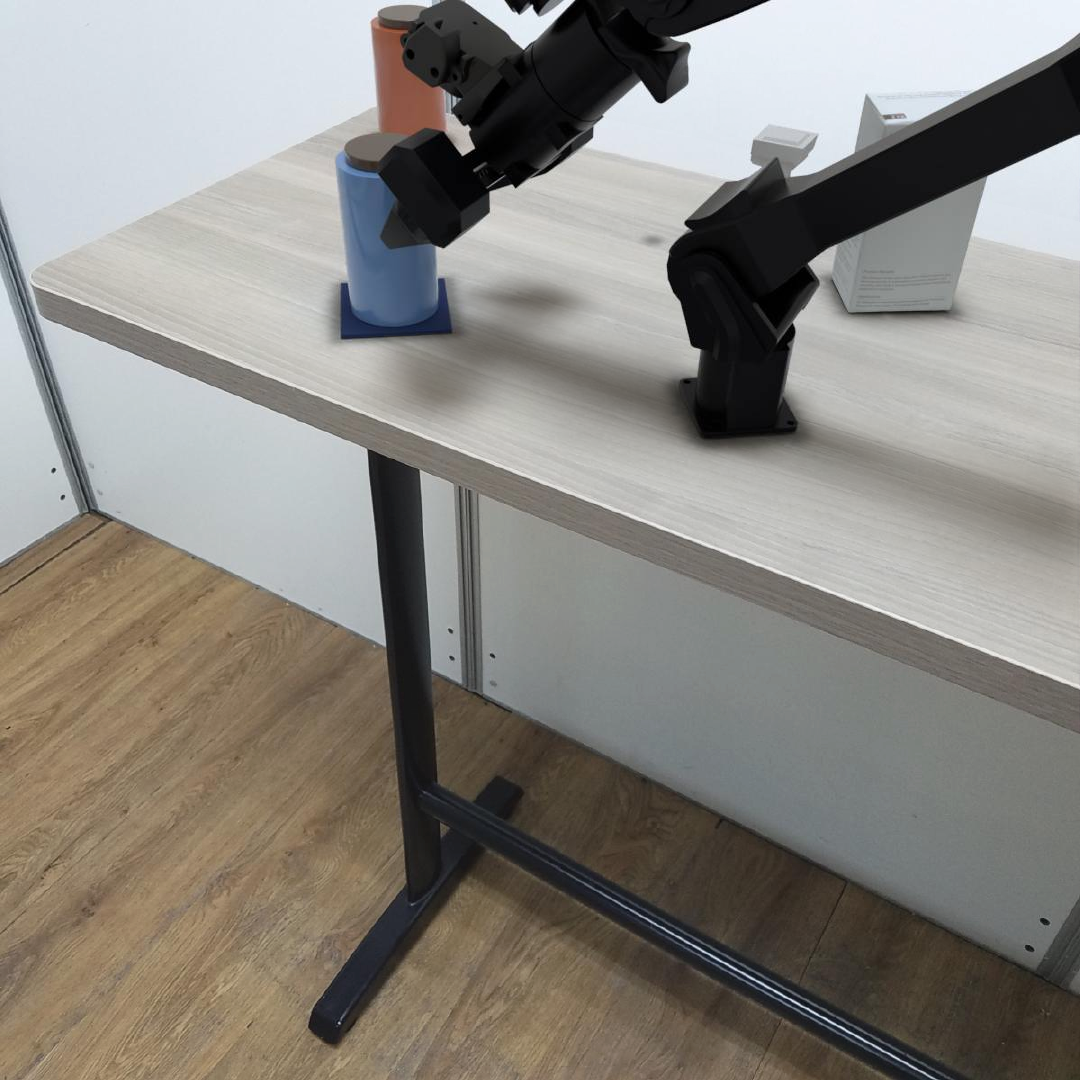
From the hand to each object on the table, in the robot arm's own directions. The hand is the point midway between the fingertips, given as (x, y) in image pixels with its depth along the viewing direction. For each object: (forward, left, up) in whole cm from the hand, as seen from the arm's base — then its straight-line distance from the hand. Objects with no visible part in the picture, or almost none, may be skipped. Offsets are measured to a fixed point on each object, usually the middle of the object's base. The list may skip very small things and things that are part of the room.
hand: (423, 217), depth 75 cm
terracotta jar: (+35, -1, -8) cm, 36 cm away
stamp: (+12, -30, -8) cm, 33 cm away
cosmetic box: (0, -36, -8) cm, 36 cm away
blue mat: (+2, +2, -8) cm, 8 cm away
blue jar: (+2, +2, -8) cm, 8 cm away
